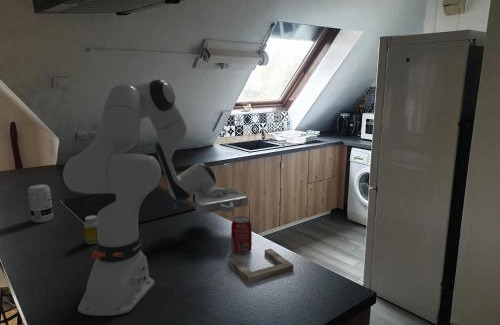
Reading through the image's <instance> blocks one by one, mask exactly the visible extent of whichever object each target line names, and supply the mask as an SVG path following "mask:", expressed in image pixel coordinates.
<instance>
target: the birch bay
mask: <svg viewBox="0 0 500 325" xmlns="http://www.w3.org/2000/svg"><path fill="white" fill-rule="evenodd" d="M264 256H265V257H266V258H267V259H268V260H269V261H271V262H272V263H273V264H274V265H271V266H269V267H265V268H261V269H257V270H254V271H252V270H251V269H249V268H248V267H247V266H246V265H245V264H244V263H243V262H242V261H241V260H239V258H237V257H231V258H228V265H229V266H230V267H231V268H232V269H233V270H234V271H235V272H236V273H237V274H238V275H239V276H240V278H242V279H243V280H244V281H245V282H246V283H247V284H248V285H249V284H252V283H256V282H260V281H263V280H267V279H270V278H273V277H277V276H280V275H284V274H287V273H290V272H294V264H293V263H292V262H290V261H289V260H287V259H286V258H285V257H283V256H282V255H281V254H279V253H278V252H276V251H275V250H274V249H272V248H268V249H264Z"/></svg>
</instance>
